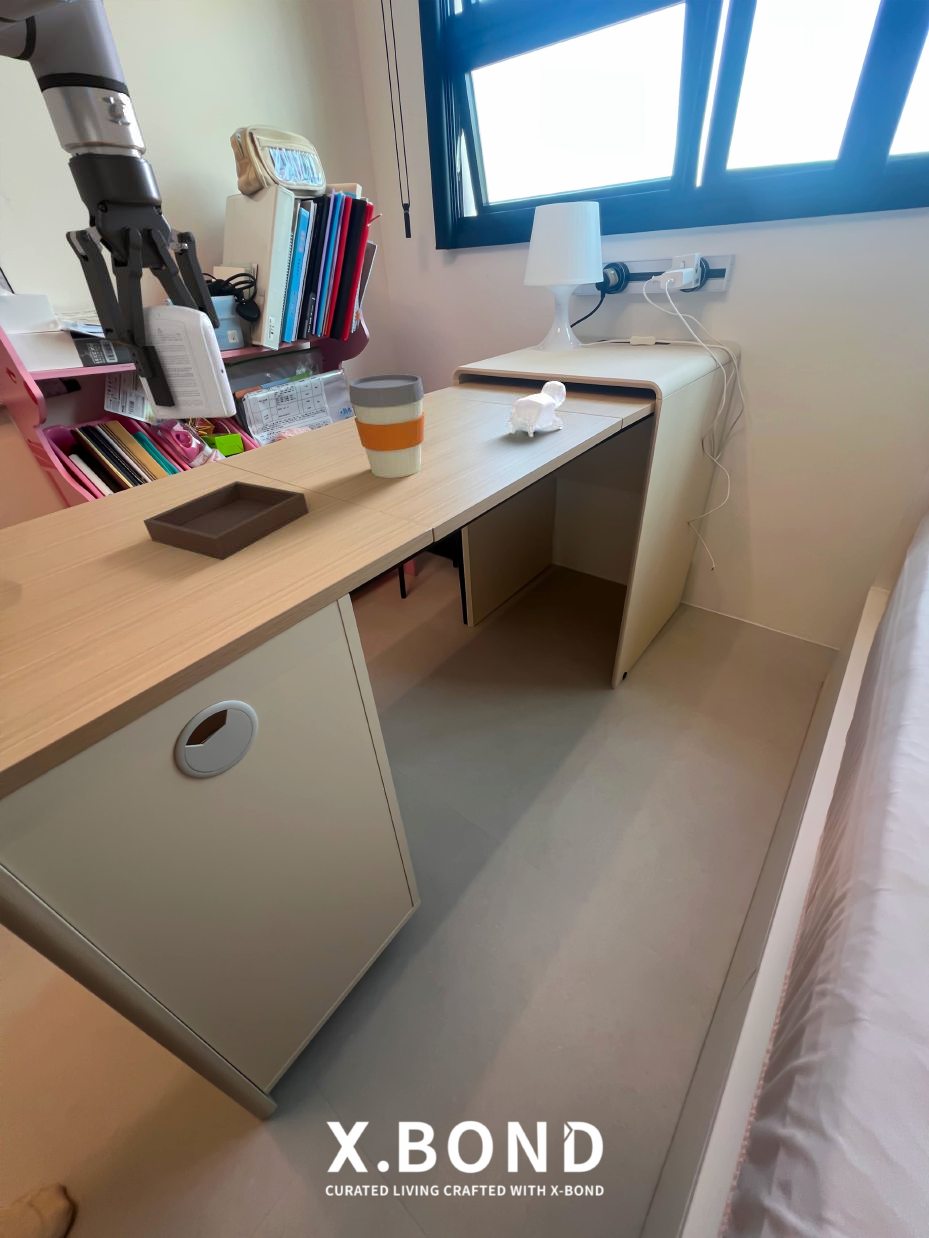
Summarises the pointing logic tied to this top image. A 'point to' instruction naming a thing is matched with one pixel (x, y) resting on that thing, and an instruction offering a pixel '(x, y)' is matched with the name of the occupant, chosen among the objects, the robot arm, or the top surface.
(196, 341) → the photo printer
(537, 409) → the white animal figurine
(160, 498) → the top surface
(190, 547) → the tray
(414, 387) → the reusable coffee cup
